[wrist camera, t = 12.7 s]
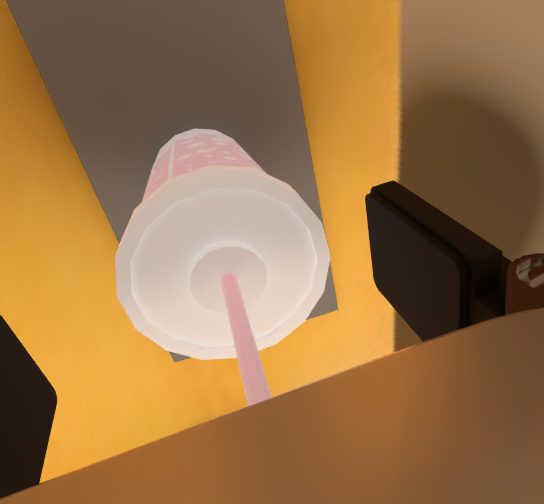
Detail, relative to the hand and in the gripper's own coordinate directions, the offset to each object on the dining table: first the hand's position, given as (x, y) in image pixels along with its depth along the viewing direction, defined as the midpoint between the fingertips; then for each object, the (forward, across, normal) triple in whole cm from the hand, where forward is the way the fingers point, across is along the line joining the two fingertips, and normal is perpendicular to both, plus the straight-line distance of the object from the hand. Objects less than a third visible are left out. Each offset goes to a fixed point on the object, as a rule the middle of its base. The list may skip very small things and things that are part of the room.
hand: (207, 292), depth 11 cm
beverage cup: (+10, -1, +1) cm, 10 cm away
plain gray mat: (+11, -1, +1) cm, 11 cm away
